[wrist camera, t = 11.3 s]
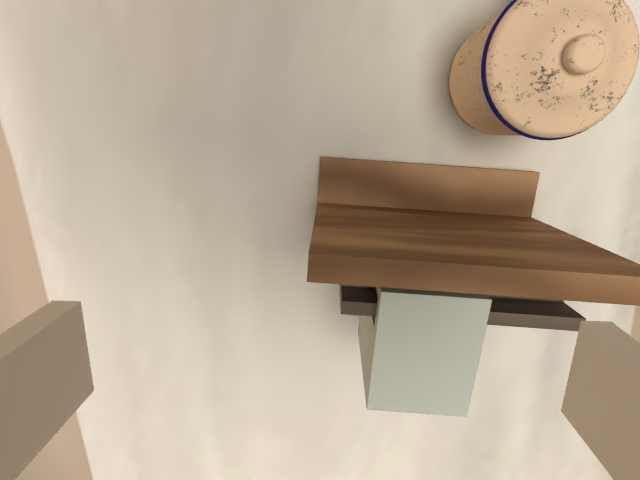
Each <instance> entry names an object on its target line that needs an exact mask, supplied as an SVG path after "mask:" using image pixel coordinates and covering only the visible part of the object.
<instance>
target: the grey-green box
mask: <svg viewBox="0 0 640 480" xmlns="http://www.w3.org/2000/svg"><path fill="white" fill-rule="evenodd" d="M376 291H377V295H378V300H377V308H376V317H375V316H361V315H360V319H359V328H358V334H359V343H360V352H361V361H362V370H363V379H364V388H365V397H366V406H367V410H379V411H393V412H406V413H420V414H434V415H447V416H461V417H467V413H468V409H469V404H470V400H471V395H472V390H473V386H474V381H475V377H476V372H477V367H478V363H479V358H480V354H481V349H482V344H483V340H484V335H485V331H486V326H487V321H488V317H489V312H490V308H491V303H492V299H491V298H490V296H489V295H484V294H470V293H456V292H442V291H428V290H414V289H400V288H386V287H376Z"/></svg>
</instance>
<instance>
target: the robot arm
mask: <svg viewBox="0 0 640 480" xmlns="http://www.w3.org/2000/svg"><path fill="white" fill-rule="evenodd" d="M93 391H94V387H93V381H92V374H91V367H90V361H89V354H88V347H87V341H86V334H85V327H84V321H83V314H82V307H81V302H78V301H51V302H49V303H48V304H46V305H45V306H43V307H42V308H40V309H39V310H37V311H36V312H34V313H32V314H31V315H29V316H28V317H26V318H25V319H23V320H22V321H20V322H19V323H17V324H16V325H14V326H12V327H11V328H9V329H8V330H6V331H5V332H3V333H2V334H0V480H15V479H16V478H17V477H18V476H19V474H20V473H21V472H22V471H23V470H24V469H25V468H26V466H27V465H28V464H29V463H30V462H31V461H32V459H34V457H35V456H36V455H37V454H38V453H39V452H40V451H41V450H42V448H43V447H44V446H45V445H46V444H47V443H48V442H49V441H50V439H51V438H52V437H53V436H54V435H55V434H56V433H57V431H58V430H59V429H60V428H61V427H62V426H63V425H64V423H65V422H66V421H67V420H68V419H69V418H70V417H71V415H72V414H73V413H74V412H75V411H76V410H77V409H78V408H79V407H80V405H81V404H82V403H83V402H84V401H85V400H86V399H87V398H88V396H89V395H90V394H91V393H92V392H93ZM561 411H562V413H563V414H564V415H565V417H566V418H567V419H568V421H569V422H570V423H571V424H572V426H573V427H574V428H575V430H576V431H577V432H578V434H579V435H580V436H581V438H582V439H583V440H584V441H585V443H586V444H587V445H588V447H589V448H590V449H591V451H592V452H593V453H594V455H595V456H596V457H597V458H598V460H599V461H600V462H601V464H602V465H603V466H604V468H605V469H606V470H607V471H608V473H609V474H610V475H611V477H612V478H613V479H614V480H640V343H639V342H638V341H636V340H635V339H634V338H632V337H631V336H630V335H628V334H627V333H626V332H624V331H623V330H622V329H620V328H619V327H618V326H616V325H615V324H614V323H612V322H602V321H581V324H580V328H579V333H578V337H577V342H576V346H575V351H574V355H573V360H572V364H571V369H570V373H569V378H568V382H567V387H566V391H565V396H564V400H563V405H562V409H561Z"/></svg>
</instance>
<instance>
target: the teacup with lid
mask: <svg viewBox="0 0 640 480" xmlns="http://www.w3.org/2000/svg"><path fill="white" fill-rule="evenodd" d="M638 58H639V34H638V29H637V25H636V22H635V19H634V17H633V14H632V12H631V10H630V9H629V7H628V6H627V4H626V3H625V1H624V0H513V1H512V2H511V3H510V4H509V5H508V6H507V7H506V8H505V10H504V11H503V12H502V13H500V14H499V15H498V16H496V17H495V18H493V19H492V20H490V21H489V22H487V23H486V24H484V25H483V26H482V27H480V28H479V29H477V30H476V31H475V32H473V33H472V34H471V35H470V36H469V37H468V38H467V39H466V40H465V42H464V43H463V44H462V46H461V47H460V48H459V50H458V52H457V54H456V56H455V58H454V61H453V63H452V67H451V71H450V78H449V88H450V95H451V99H452V102H453V105H454V107H455V109H456V111H457V112H458V114H459V115H460V117H461V118H462V119H463V120H464V121H465V122H466V123H467V124H468V125H470V126H471V127H473V128H475V129H476V130H479V131H481V132H484V133H487V134H493V135H522V136H525V137H528V138H533V139H538V140H557V139H563V138H567V137H571V136H574V135H576V134H579V133H581V132H583V131H585V130H587V129H589V128H590V127H592V126H594V125H595V124H597V123H598V122H599V121H601V120H602V119H603V118H605V117H606V116H607V115H608V114H609V113H610V112H611V111H612V110H613V109H614V108H615V107H616V106H617V104H618V103H619V102H620V100H621V99H622V98H623V96H624V95H625V93H626V91H627V90H628V88H629V86H630V84H631V82H632V79H633V77H634V74H635V71H636V67H637V63H638Z"/></svg>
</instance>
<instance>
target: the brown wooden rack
mask: <svg viewBox="0 0 640 480" xmlns="http://www.w3.org/2000/svg"><path fill="white" fill-rule="evenodd" d="M539 174H540V172H533V171H519V170H505V169H490V168H476V167H461V166H447V165H433V164H418V163H404V162H390V161H375V160H361V159H346V158H332V157H321V160H320V176H319V191H318V204H317V209H316V215H315V221H314V226H313V232H312V238H311V244H310V249H309V258H308V274H307V282H316V283H330V284H339V285H340V306H341V314H348V315H361V316H375V317H376V308H377V300H378V295H377V291H376V287H386V288H400V289H414V290H428V291H442V292H456V293H470V294H484V295H489V296H490V298H491V299H492V303H491V308H490V312H489V317H488V321H487V325H501V326H515V327H528V328H542V329H556V330H570V331H579V328H580V324H581V321H585V320H586V318H584V317H583V316H581V315H580V314H579V313H577V312H576V311H575V310H573V309H572V308H571V307H569V306H568V305H567V304H565V303H564V302H563V301H564V300H568V301H582V302H596V303H610V304H624V305H639V306H640V264H638V263H635V262H633V261H631V260H628V259H626V258H624V257H621V256H619V255H617V254H614V253H612V252H610V251H607V250H605V249H603V248H601V247H598V246H596V245H594V244H591V243H589V242H587V241H584V240H582V239H580V238H577V237H575V236H573V235H571V234H568V233H566V232H564V231H561V230H559V229H557V228H554V227H552V226H550V225H547V224H545V223H543V222H541V221H538V220H536V219H534V218H531V214H532V209H533V204H534V199H535V194H536V189H537V184H538V179H539Z"/></svg>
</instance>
